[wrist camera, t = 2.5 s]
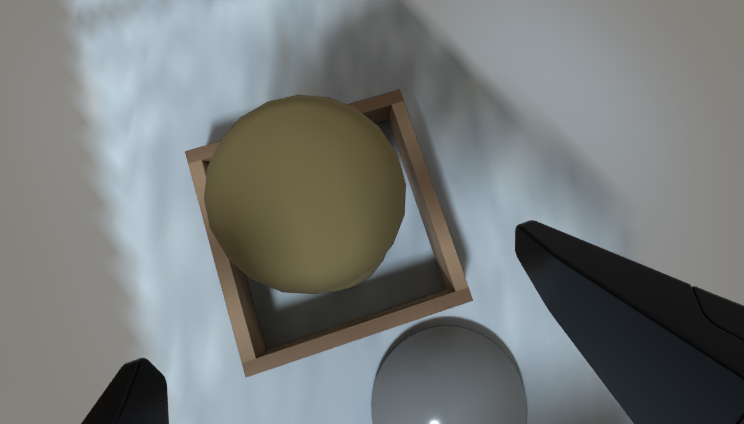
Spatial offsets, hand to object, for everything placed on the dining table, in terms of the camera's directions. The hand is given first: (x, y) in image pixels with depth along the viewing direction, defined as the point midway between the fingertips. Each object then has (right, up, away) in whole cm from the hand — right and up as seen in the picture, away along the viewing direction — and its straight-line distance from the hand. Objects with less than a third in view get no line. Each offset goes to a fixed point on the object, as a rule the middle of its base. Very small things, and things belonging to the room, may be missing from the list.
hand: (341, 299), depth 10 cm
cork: (-1, +1, +11) cm, 11 cm away
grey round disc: (+4, -7, +10) cm, 13 cm away
